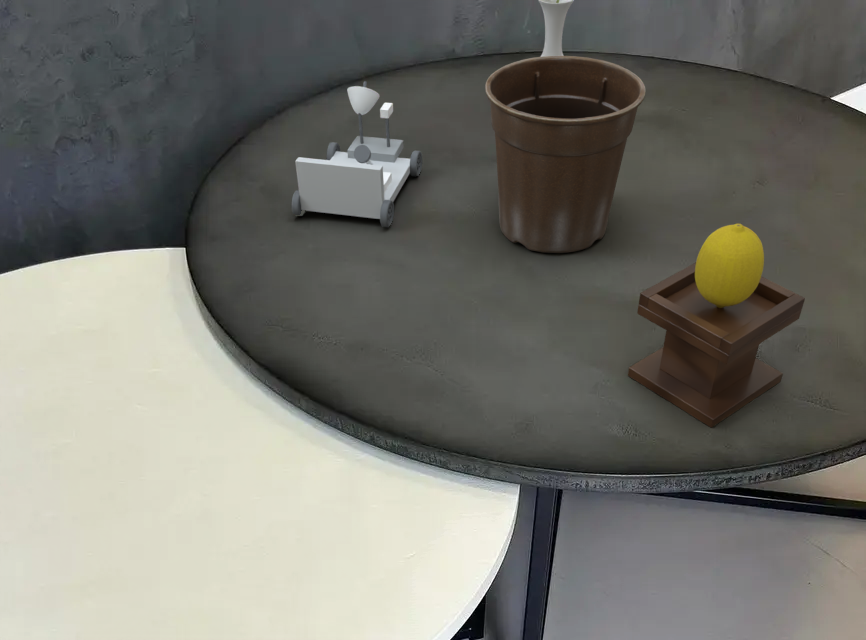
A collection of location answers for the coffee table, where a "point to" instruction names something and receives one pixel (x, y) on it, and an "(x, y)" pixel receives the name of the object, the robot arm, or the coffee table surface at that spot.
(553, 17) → the flower in vase
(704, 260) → the lemon
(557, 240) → the plant pot
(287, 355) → the coffee table surface
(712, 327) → the stand
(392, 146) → the grey toy rover
